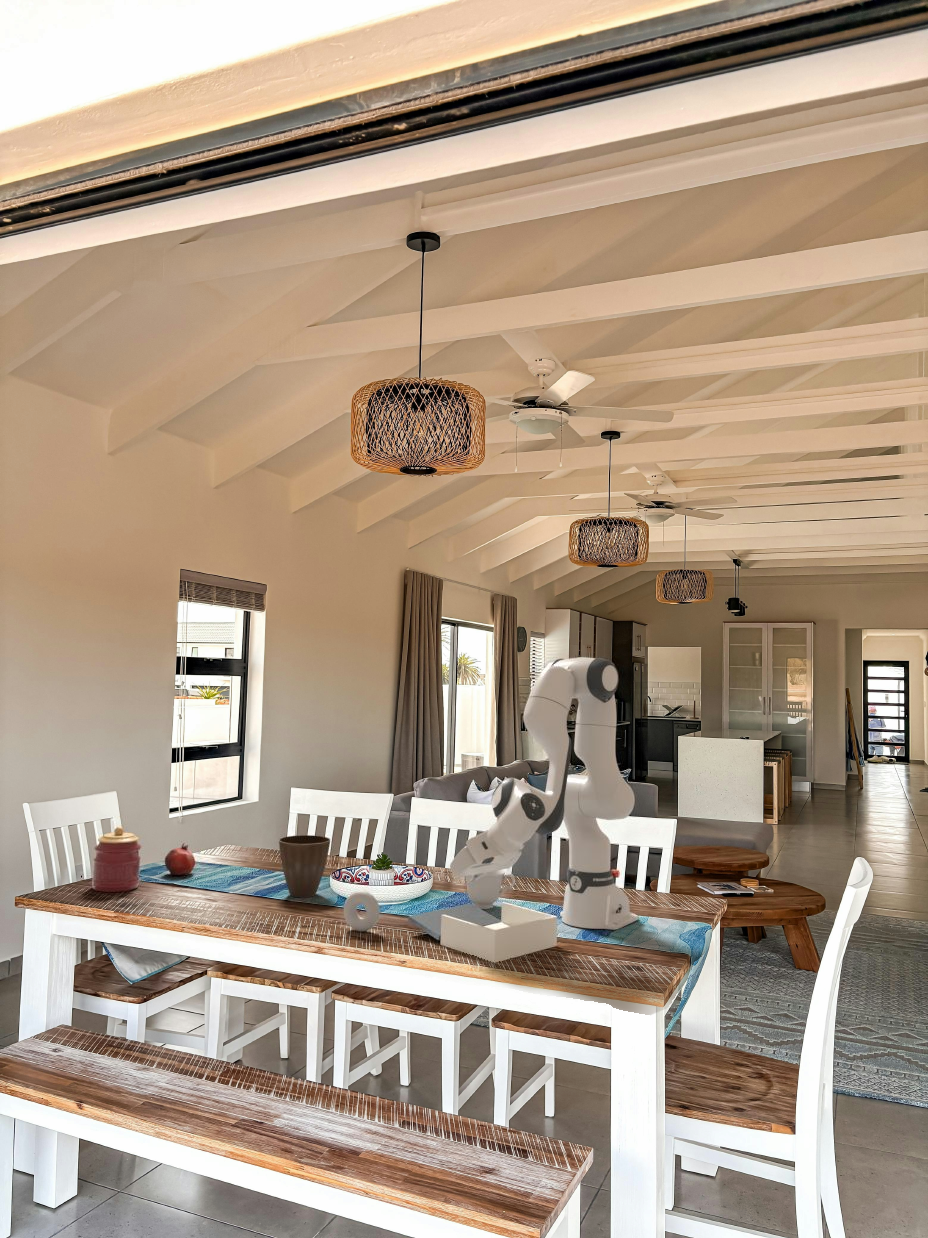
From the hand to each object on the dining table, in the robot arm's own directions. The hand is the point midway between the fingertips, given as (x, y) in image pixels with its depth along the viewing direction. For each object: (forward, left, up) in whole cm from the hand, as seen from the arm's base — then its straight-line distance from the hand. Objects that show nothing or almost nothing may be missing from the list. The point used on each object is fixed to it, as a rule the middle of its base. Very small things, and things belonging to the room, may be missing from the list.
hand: (470, 879), depth 225 cm
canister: (+48, -99, -14) cm, 111 cm away
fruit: (+25, -105, -14) cm, 109 cm away
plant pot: (+9, -60, -14) cm, 62 cm away
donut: (+19, -19, -14) cm, 31 cm away
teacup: (-25, -17, -14) cm, 33 cm away
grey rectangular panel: (0, +1, -13) cm, 13 cm away
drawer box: (0, +11, -14) cm, 18 cm away
